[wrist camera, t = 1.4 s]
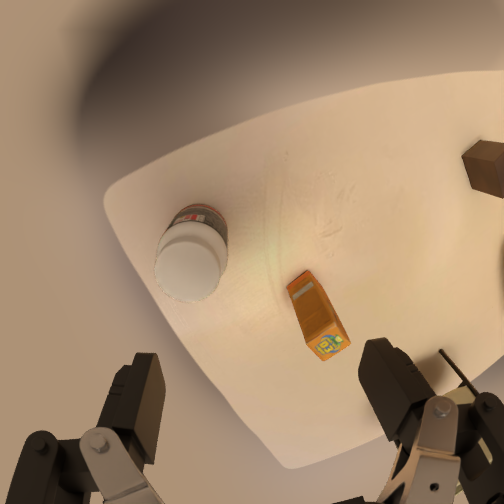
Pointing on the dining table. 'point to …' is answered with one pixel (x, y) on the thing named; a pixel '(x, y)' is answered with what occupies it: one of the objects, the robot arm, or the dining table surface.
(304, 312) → the supplement box
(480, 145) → the walnut block
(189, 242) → the pill bottle
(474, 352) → the dining table surface
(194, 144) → the dining table surface
